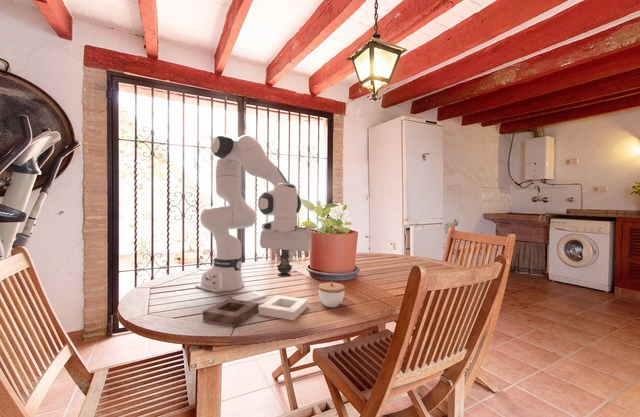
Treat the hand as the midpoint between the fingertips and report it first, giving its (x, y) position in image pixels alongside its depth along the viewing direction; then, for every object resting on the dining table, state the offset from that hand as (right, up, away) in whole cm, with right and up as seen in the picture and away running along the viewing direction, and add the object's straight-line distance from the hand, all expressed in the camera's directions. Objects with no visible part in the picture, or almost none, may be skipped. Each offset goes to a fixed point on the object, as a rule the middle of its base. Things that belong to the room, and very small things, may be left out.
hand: (284, 261), depth 111 cm
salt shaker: (0, -6, 0) cm, 6 cm away
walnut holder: (-19, -19, -5) cm, 27 cm away
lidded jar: (+18, -20, +8) cm, 28 cm away
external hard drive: (-17, -19, +14) cm, 29 cm away
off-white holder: (0, -19, +1) cm, 19 cm away
